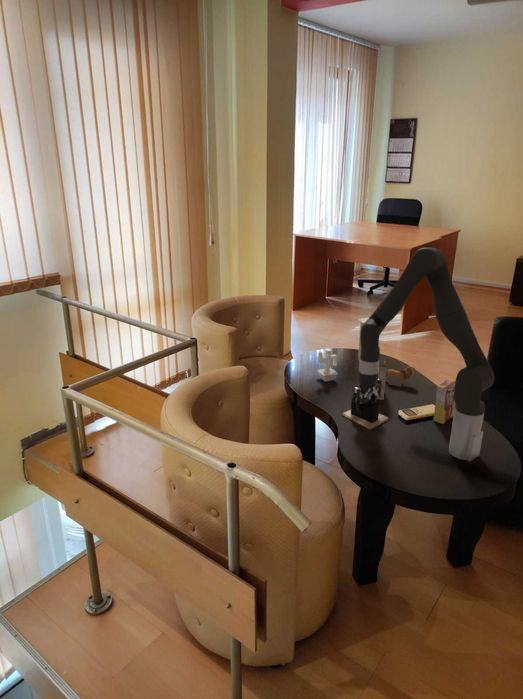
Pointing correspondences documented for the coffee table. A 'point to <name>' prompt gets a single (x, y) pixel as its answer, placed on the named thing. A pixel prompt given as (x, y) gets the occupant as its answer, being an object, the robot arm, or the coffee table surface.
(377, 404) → the digital camera
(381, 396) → the coffee box
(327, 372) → the figurine
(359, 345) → the toy refrigerator
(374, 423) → the birch board
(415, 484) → the coffee table surface
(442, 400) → the candy box
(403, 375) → the lion figurine
